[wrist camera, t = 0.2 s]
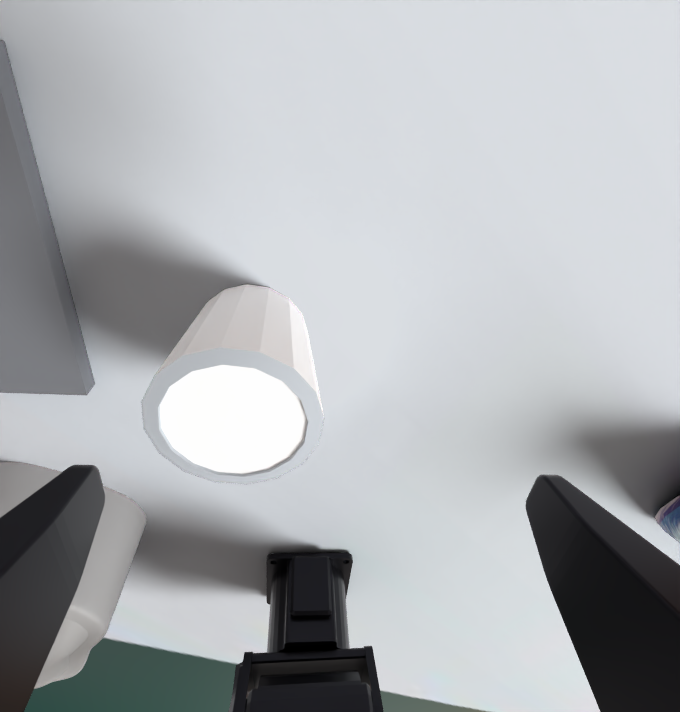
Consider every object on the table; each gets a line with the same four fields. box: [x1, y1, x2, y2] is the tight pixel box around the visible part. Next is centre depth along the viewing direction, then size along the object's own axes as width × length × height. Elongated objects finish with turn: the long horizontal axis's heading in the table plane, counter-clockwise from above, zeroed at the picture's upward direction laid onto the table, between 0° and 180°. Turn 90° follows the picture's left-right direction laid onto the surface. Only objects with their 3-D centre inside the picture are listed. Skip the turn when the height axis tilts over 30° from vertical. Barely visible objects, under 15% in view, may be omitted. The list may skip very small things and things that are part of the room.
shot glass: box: [141, 284, 324, 484], centre depth 19 cm, size 7×7×7 cm
